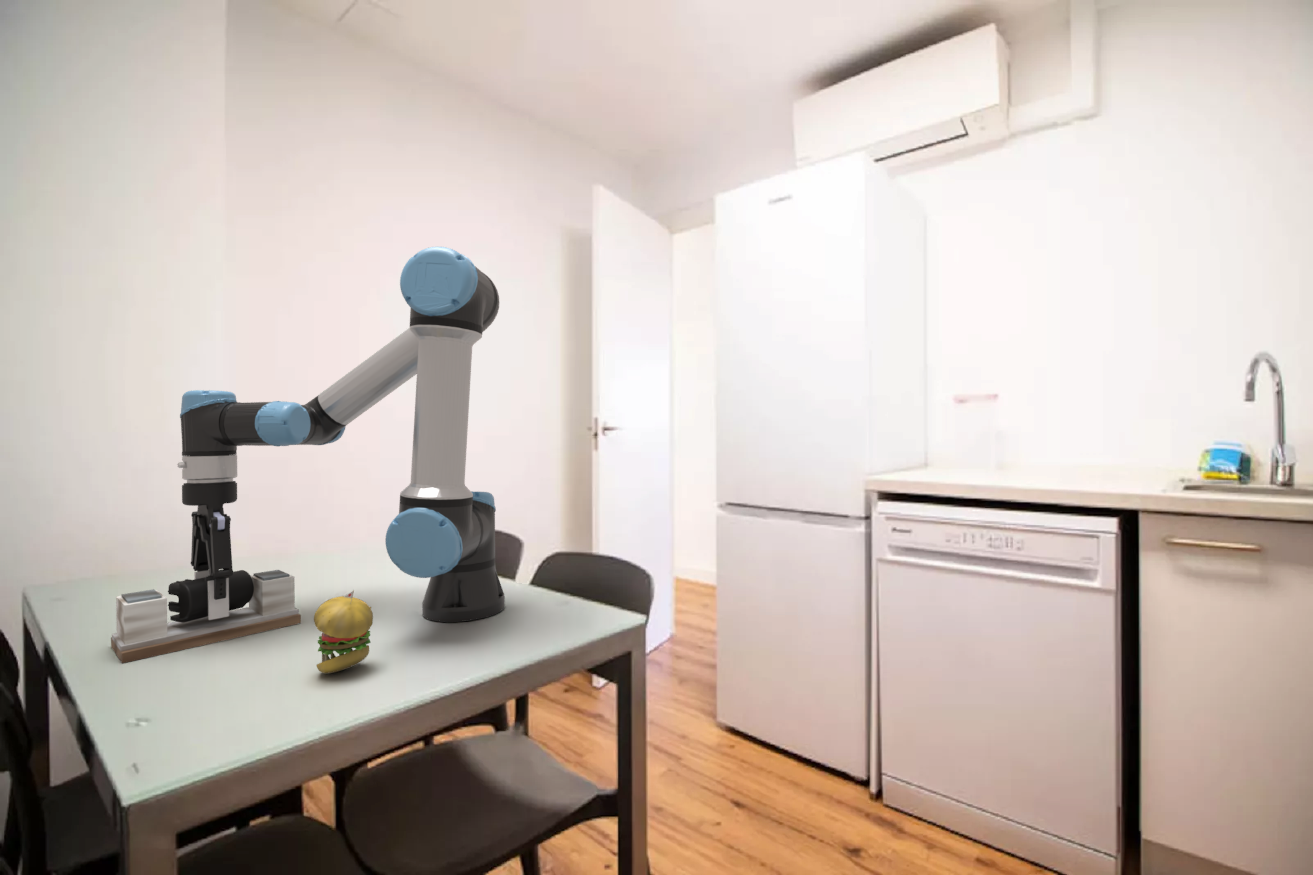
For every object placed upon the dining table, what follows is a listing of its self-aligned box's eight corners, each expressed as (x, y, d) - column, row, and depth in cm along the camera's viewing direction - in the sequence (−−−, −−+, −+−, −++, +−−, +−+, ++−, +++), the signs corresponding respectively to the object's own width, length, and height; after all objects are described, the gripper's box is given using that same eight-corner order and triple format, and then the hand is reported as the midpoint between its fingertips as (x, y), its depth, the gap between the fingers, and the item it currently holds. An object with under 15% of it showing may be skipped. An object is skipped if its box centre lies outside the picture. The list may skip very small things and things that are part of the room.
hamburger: (351, 658, 88) (351, 579, 88) (385, 666, 85) (384, 584, 85) (302, 677, 81) (301, 592, 81) (336, 687, 78) (335, 598, 78)
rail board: (300, 623, 105) (300, 575, 105) (122, 663, 86) (121, 605, 86) (280, 611, 112) (279, 566, 112) (111, 646, 94) (110, 593, 94)
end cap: (190, 626, 93) (190, 584, 93) (165, 621, 96) (165, 580, 96) (254, 609, 102) (254, 571, 102) (230, 605, 105) (229, 567, 105)
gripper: (168, 479, 103) (170, 606, 103) (197, 485, 89) (199, 631, 90) (220, 477, 109) (221, 597, 109) (254, 481, 95) (256, 619, 95)
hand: (211, 612), depth 99 cm, fingers closed on end cap, 8 cm apart
